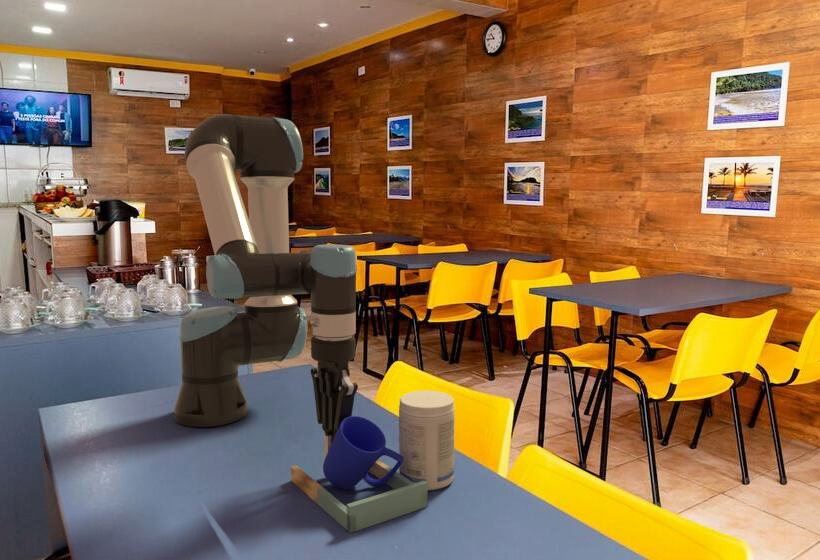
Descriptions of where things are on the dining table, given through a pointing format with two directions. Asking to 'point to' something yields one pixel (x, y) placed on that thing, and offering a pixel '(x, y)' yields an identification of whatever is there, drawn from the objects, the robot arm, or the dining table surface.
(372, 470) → the flange rails
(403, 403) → the supplement tub
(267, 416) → the dining table surface
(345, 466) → the mug
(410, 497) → the pocket
